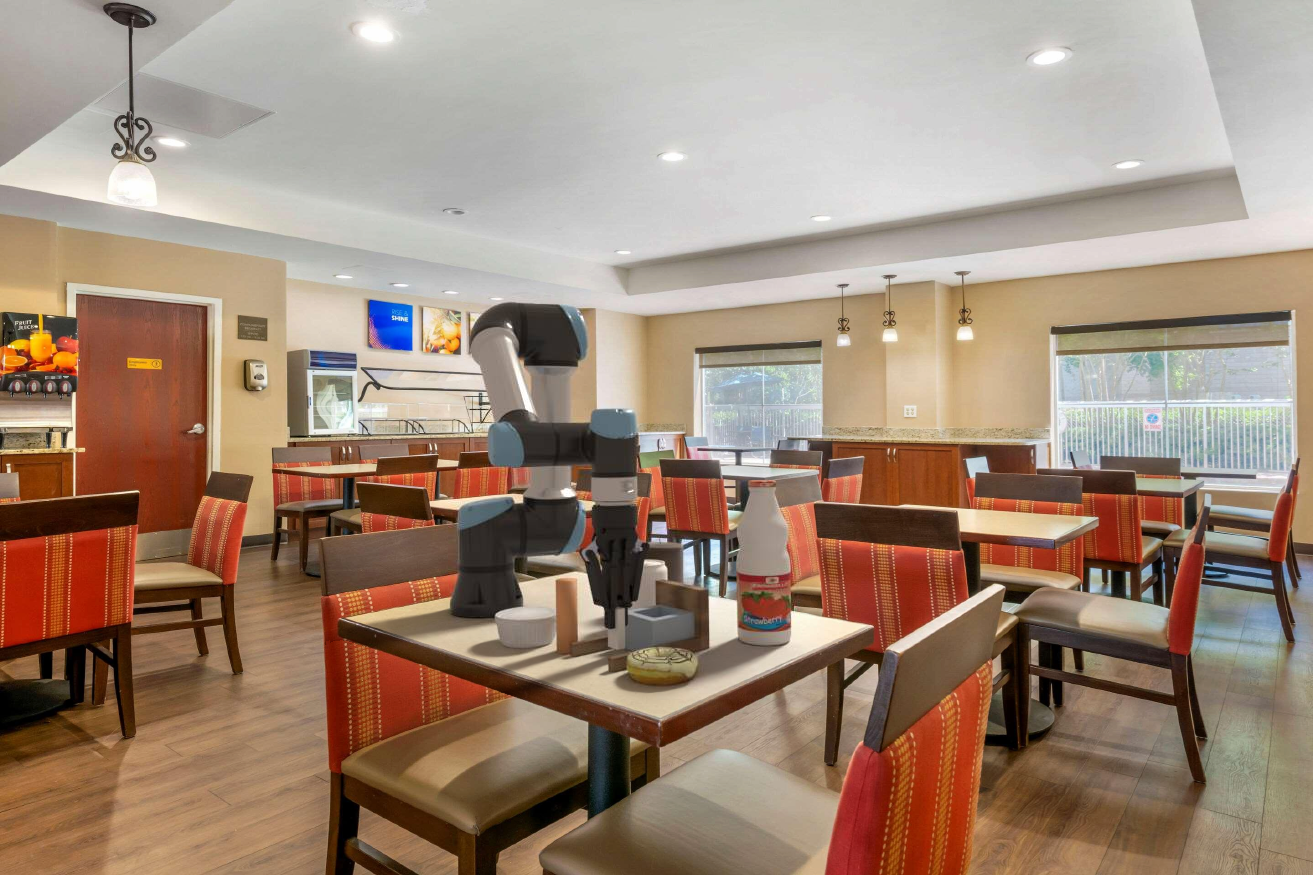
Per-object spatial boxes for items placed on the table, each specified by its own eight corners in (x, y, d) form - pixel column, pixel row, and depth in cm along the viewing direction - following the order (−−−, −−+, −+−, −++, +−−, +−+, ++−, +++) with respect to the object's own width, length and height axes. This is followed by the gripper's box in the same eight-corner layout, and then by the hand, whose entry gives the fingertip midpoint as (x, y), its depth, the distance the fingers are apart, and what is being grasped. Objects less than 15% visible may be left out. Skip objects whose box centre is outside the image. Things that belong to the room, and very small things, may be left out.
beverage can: (617, 627, 143) (617, 564, 143) (638, 618, 150) (637, 558, 150) (655, 632, 139) (654, 567, 139) (675, 622, 147) (674, 560, 147)
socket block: (620, 646, 130) (620, 611, 130) (661, 637, 135) (660, 604, 136) (653, 658, 123) (652, 621, 123) (694, 647, 128) (694, 612, 128)
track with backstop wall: (569, 654, 125) (569, 594, 125) (663, 634, 138) (663, 579, 138) (612, 671, 116) (612, 606, 116) (709, 647, 128) (708, 588, 128)
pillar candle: (647, 617, 151) (647, 542, 151) (630, 607, 160) (630, 536, 160) (691, 613, 155) (691, 539, 155) (672, 603, 164) (672, 534, 164)
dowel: (552, 650, 128) (551, 579, 128) (570, 646, 130) (569, 577, 130) (563, 655, 125) (562, 582, 125) (582, 651, 128) (581, 579, 128)
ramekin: (491, 637, 138) (490, 608, 138) (551, 631, 142) (551, 603, 142) (500, 653, 127) (499, 622, 127) (565, 646, 131) (565, 615, 131)
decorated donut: (706, 685, 110) (706, 659, 110) (633, 691, 107) (633, 664, 107) (688, 664, 120) (688, 640, 120) (621, 669, 118) (621, 645, 118)
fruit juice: (783, 631, 138) (781, 478, 139) (797, 645, 129) (795, 481, 129) (732, 633, 138) (730, 479, 138) (743, 647, 128) (741, 482, 128)
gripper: (595, 507, 117) (597, 660, 117) (659, 501, 125) (661, 644, 125) (568, 504, 123) (570, 650, 122) (631, 499, 131) (633, 635, 131)
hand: (616, 647), depth 124 cm, fingers closed
